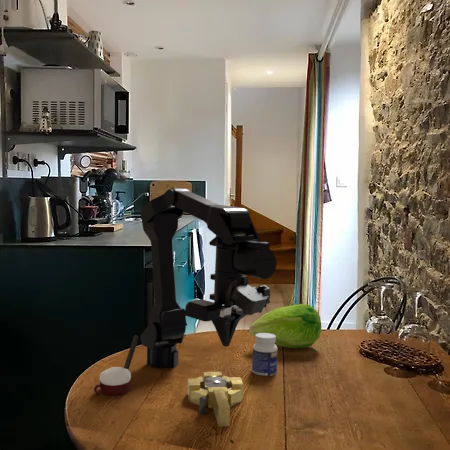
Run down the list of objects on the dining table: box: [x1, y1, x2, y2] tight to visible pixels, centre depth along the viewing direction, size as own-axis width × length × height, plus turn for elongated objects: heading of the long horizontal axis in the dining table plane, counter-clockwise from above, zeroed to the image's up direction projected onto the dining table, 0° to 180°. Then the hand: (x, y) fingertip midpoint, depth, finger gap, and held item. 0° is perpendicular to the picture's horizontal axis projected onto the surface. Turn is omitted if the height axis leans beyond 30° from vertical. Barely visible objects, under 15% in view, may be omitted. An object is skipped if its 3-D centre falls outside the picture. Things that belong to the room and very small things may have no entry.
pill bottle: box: [251, 333, 278, 377], centre depth 122 cm, size 6×6×10 cm
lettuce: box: [248, 303, 322, 349], centre depth 145 cm, size 14×20×12 cm
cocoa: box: [93, 334, 139, 397], centre depth 109 cm, size 10×6×12 cm, turn 106°
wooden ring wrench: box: [187, 371, 244, 428], centre depth 103 cm, size 19×11×4 cm, turn 8°
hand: (225, 346), depth 108 cm, fingers closed
